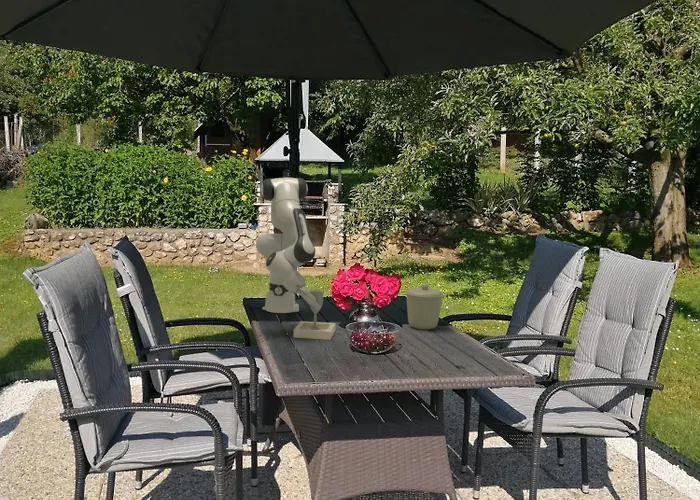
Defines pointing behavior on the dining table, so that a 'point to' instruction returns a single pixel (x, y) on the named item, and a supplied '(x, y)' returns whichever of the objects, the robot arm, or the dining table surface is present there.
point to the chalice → (319, 300)
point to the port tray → (305, 330)
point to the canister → (423, 307)
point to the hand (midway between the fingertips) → (317, 305)
